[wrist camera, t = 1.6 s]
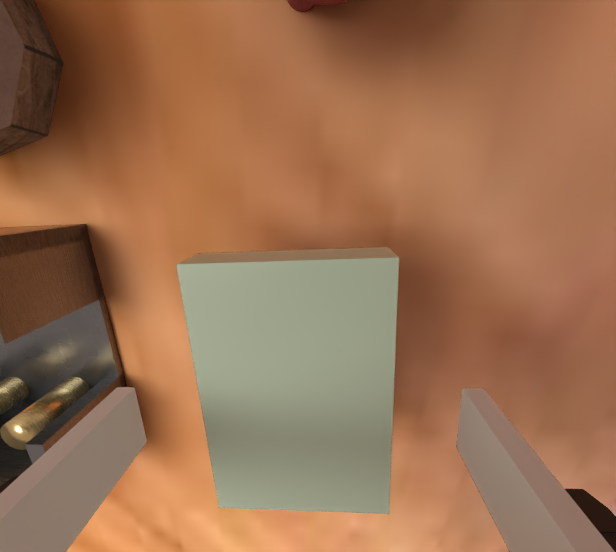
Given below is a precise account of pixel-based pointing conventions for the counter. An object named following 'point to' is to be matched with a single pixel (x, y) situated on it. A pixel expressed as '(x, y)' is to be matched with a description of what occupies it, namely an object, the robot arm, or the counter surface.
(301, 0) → the mechanical component
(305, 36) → the counter surface
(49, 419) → the frame
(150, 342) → the counter surface
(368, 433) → the board
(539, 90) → the counter surface
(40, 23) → the mug
